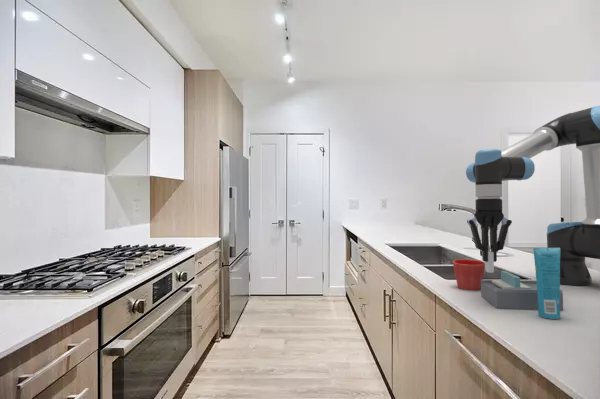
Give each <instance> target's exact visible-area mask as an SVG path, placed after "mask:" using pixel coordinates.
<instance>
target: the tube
mask: <svg viewBox="0 0 600 399" xmlns="http://www.w3.org/2000/svg"><path fill="white" fill-rule="evenodd" d="M533 259H534V267H535V268H534V269H535V280H536V282H537V295H538V310H537V311H538V312H537V313H538V316H539V317H540V318H544V319H550V320H558V319H561V310H560V290H561V284H560V248H547V247H533Z"/></svg>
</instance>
